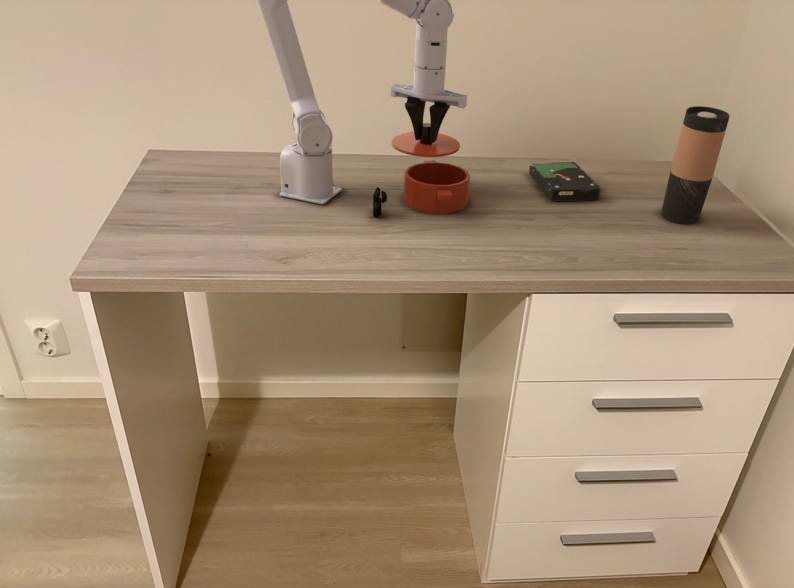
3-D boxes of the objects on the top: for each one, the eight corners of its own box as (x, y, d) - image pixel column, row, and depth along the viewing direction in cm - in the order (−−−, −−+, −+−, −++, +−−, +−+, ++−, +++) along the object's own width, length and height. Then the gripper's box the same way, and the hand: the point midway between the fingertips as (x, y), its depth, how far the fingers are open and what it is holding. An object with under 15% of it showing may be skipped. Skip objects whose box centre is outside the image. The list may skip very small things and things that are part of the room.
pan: (411, 220, 132) (412, 192, 129) (398, 184, 146) (399, 157, 143) (476, 219, 134) (479, 191, 131) (457, 183, 148) (459, 157, 145)
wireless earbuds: (372, 207, 136) (373, 181, 133) (386, 207, 136) (386, 181, 133) (372, 223, 130) (373, 196, 127) (386, 223, 130) (387, 196, 127)
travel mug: (706, 217, 140) (737, 113, 129) (688, 228, 136) (719, 121, 124) (671, 205, 145) (698, 103, 133) (652, 215, 140) (678, 110, 128)
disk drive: (599, 201, 145) (572, 173, 156) (602, 188, 143) (574, 160, 155) (550, 203, 142) (527, 174, 154) (553, 189, 141) (528, 161, 152)
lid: (395, 160, 133) (396, 136, 131) (387, 137, 144) (388, 114, 141) (465, 160, 135) (467, 136, 133) (452, 137, 146) (454, 114, 143)
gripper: (474, 66, 132) (468, 140, 140) (401, 55, 136) (399, 128, 144) (462, 75, 127) (456, 151, 134) (386, 63, 130) (385, 138, 138)
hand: (426, 140), depth 139 cm, fingers closed on lid, 2 cm apart
